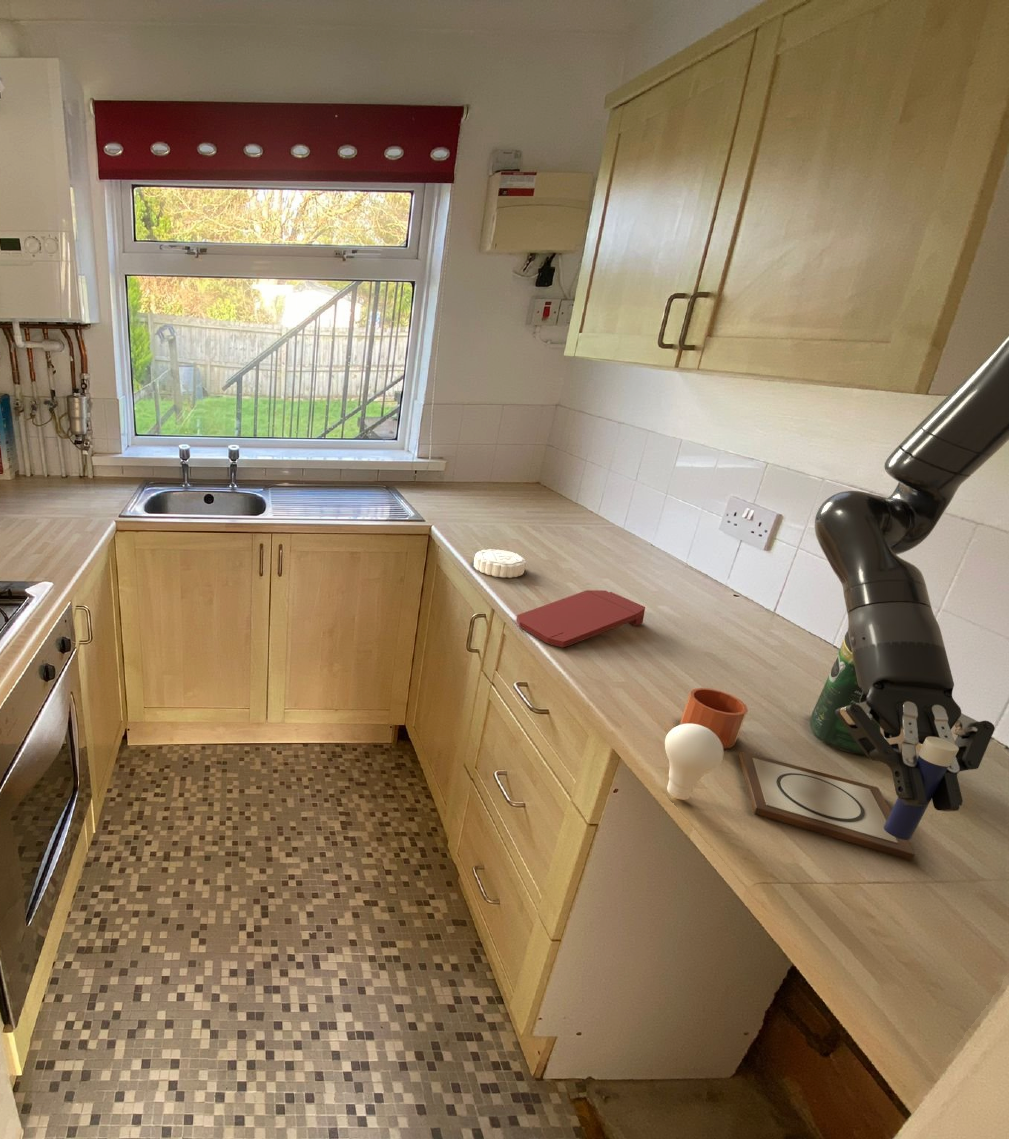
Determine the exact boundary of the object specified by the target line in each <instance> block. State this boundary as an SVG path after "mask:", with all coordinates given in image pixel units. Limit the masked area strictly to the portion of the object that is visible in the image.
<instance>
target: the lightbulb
mask: <svg viewBox="0 0 1009 1139" xmlns="http://www.w3.org/2000/svg"><path fill="white" fill-rule="evenodd" d="M664 749H665V753H666V757H667V759H668V763H669V771H668V778H669V779H668V783H667V787H666V791H667V792H668V794H669V795H670V796H672V797H673V798H674V799H676V800H683V801H685V800H688V799H689V798H690V796H691V795H692V793H693V790H694V789H695V788H697V786H698V785H699V782H700V780H701V779H703V777H705V776H706V775H707V774H708V773H710V772H712V771H714V770H715V769H717V768H718V766H719V765H720V764H721V763H722V761H723V759H724V753H725V752H724V751H725V750H724V749H723V745H722V743H721V741H720V739H719V738H718V737H717V735H716V734H715V733H713V732H712V731H711V730H709V729H708V728H706V727H704V726H701V725H697V724H682V725H680V724H679V725H677V726H675V727H673V728H672V729H670V731H668V733H667V735H666V736H665V739H664Z"/></svg>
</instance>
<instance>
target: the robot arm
mask: <svg viewBox="0 0 1009 1139" xmlns="http://www.w3.org/2000/svg"><path fill="white" fill-rule="evenodd" d="M1007 442H1009V334H1008V335H1007V336H1006V337H1005V339H1004V340H1003V341H1001V343H1000V344H999V345H998V346H997V347H996V348H995V349H994V350H993V351H992V352H991V353H990V355H988V357H986V358H985V360H983V361H982V363H981V364H979V366H978V367H976V368H975V369H974V370H973V371H972V372H971V373H970V374H969V375H968V376H967V377H966V378H965V379H964V380H963V381H962V382H961V383H960V384H958V386H957V387H956V388H954V390H953V391H951V393H949V394H948V395H947V396H946V397H945V398H944V399H943V400H942V401H941V402H940V403H939V404H937V406H936V407H935V408H934V409H933V410H932V411H931V412H930V413H929V414H928V415H926V417H925V418H924V419H923V420H922V421H921V422H920V423H919V424H918V425H917V426H916V427H915V428H914V429H913V430H912V431H911V432H910V433H909V434H908V435H907V436H906V437H905V439H904V440H903V441H901V442H900V444H899V445H897V447H896V448H895V449H894V450H893V451H892V452H891V453H890V454H889V456H888V457H887V459H886V460H885V462H884V465H883V466H884V467H883V468H884V471H885V472H886V473H887V475H888V476H889V477H891V478H892V479H893V480H895V481H896V482H898V483H897V485H896V487H895V489H894V490H893V492H892V493H891V495H890V496H888V497H886V496H882V495H877V494H873V493H870V492H865V491H860V490H859V491H858V490H846V491H845V490H844V491H840V492H837V493H835V494H833V495H831V496H828V498H827V499H825V500H824V501H823V503H822V504H821V505H820V506H819V507H818V510H817V513H816V515H815V518H814V533H815V534H814V535H815V536H816V540H817V542H818V544H819V547H820V549H821V550H822V553H823V554H824V557H825V558H826V560H827V562H828V563H829V566H830V567H831V569H832V571H833V573H834V574H835V575H836V577H837V579H838V580H839V582H840V584H841V586H842V591H843V598H844V603H845V608H846V614H847V620H848V621H847V622H848V623H847V631H848V633H849V639H850V645H851V650H852V655H853V660H854V665H855V671H856V676H857V681H858V686H859V688H860V689H861V690H862V696H861V697H860V701H859V702H860V703H859V704H853V705H849V706H846V707H843V708H839V709H837V710H836V711H835V713H836V716H837V717H838V718H839V720H840V721H841V722H842V724H843V725H844V726H845V728H846V729H847V730H848V732H849V733H850V734H851V736H852V737H853V738H854V740H855V741H856V742H857V744H858V745H859V746H860V748H861V749H862V750H863V752H864V753H865V754H866V755H865V754H864V755H865V756H866V757H867V758H868V759H869V760H871V761H878V762H880V763H883V764H884V765H887V767H888V768H889V769H890V770H891V776H892V780H893V784H894V790H895V794H896V796H897V798H898V797H899V799H902V802H903V804H904V805H907V806H913V807H916V806H925V805H926V803H927V800H926V796H925V791H924V786H923V782H922V777H921V773H920V769H918V768H914V766H916V764H917V758H918V757H917V751H918V752H919V751H920V749H921V747H922V745H923V743H924V741H925V739H926V737H930V736H931V737H938V738H942V739H945V740H947V741H950V742H952V743H953V744H955V745H956V746H957V747H958V748H959V750H958V752H957V754H956V756H955V758H954V760H953V762H952V764H951V765H950V766H948V768H947V770H946V772H945V774H944V776H943V778H942V780H941V782H940V784H939V786H938V787H937V789H936V791H935V793H934V795H933V797H932V799H931V802H932V804H933V808H934V809H935V810H936V811H940V812H958V811H959V810H960V807H961V806H962V805H963V802H964V800H963V796H962V791H961V788H960V784H959V783H960V782H959V780H958V779H959V778H958V774H959V773H960V772H964V771H969V770H970V771H972V770H978V769H979V768H980V765H981V763H982V760H983V758H984V756H985V753H986V751H987V748H988V746H989V744H990V741H991V739H992V737H993V734H994V731H995V729H996V727H995V724H993V723H992V722H991V721H989V720H981V721H979V720H977V719H974V718H972V717H970V716H968V715H966V714H964V713H962V709H961V707H960V706H959V704H958V703H957V702H956V701H955V699H954V698H953V697H954V696H953V691H954V687H955V681H954V679H953V678H954V677H953V674H952V671H951V666H950V662H949V658H948V655H947V654H948V653H947V651H946V647H945V642H944V638H943V634H942V631H941V627H940V625H939V623H938V620H937V618H936V616H935V613H934V611H933V608H932V604H931V600H930V596H929V591H928V587H927V584H926V580H925V578H924V575H923V573H922V571H921V570H920V569H919V568H918V567H917V566H916V565H914V564H913V563H911V562H909V561H907V560H906V559H903V558H901V557H900V556H899V555H902V554H904V553H906V552H909V551H911V550H912V549H914V548H916V547H917V546H919V545H920V544H922V542H924V541H925V540H926V539H927V538H928V537H929V536H930V535H931V533H932V531H933V530H934V529H935V528H936V526H937V524H938V523H939V521H940V519H941V518H942V516H943V515H944V513H945V512H946V511H947V510H946V509H947V508H948V507H949V505H950V503H951V502H952V501H953V498H954V497H955V494H956V493H957V491H958V490H959V488H960V486H961V485H962V484H964V482H965V481H967V480H968V479H969V478H970V477H971V476H972V475H974V473H975V472H977V471H978V470H979V469H980V468H981V467H982V466H984V464H985V463H986V462H987V461H989V460H990V458H992V457H993V456H994V455H995V454H996V453H997V452H998V451H999V450H1000V449H1001V448H1002V447H1003V446H1005V445H1006V443H1007ZM872 719H873V720H874V721H875V722H876V723H877V724H878V725H879V726H880V731H879V730H878V728H877V727H876V726H875V724H874V723H873V722H872V721H871V720H872ZM953 727H955V728H954V730H953V733H952V729H953ZM953 734H954V735H956V736H957V737H956V738H955V739H954V736H953Z"/></svg>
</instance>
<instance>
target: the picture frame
mask: <svg viewBox="0 0 1009 1139" xmlns="http://www.w3.org/2000/svg"><path fill="white" fill-rule="evenodd" d="M738 758H739V762H740V765H741V769H742V774H743V776H744V780H745V783H746V788H747V792H748V795H749V796H748V797H749V800H750V803H751V806H752V811H753V814H754V815H757V816H761V817H764V818H768V819H771V820H775V821H778V822H781V823H784V824H788V825H791V826H795V827H797V828H801V829H804V830H807V831H811V832H814V833H816V834H817V833H818V834H821V835H824V836H827V837H830V838H831V837H832V838H833V839H838V840H840V841H844V842H848V843H852V844H854V845H857V846H861V847H865V848H868V849H870V850H875V851H878V852H881V853H885V854H888V855H891V856H895V857H898V858H901V859H905V860H908V861H913V859H914V857H915V855H916V854H915V852H914V851H913V849H912V847H911V844H910V843H909V840H902V839H899V838H896V837H894V836H892V835H890V834H889V833H887V832H886V831H885V830H884V825H885V823H886V821H887V819H888V817H889V815H890V813H891V811H892V809H891V807H889V805H888V803H887V800H886V799H885V798H884V795H883V794H882V791H881V790H880V788H879V787H878V786H875V785H870V784H866V783H863V782H858V781H854V780H851V779H848V778H844V777H840V776H837V775H832V774H829V773H825V772H822V771H818V770H814V769H811V768H810V769H809V768H806V767H803V766H798V765H796V764H795V765H794V764H791V763H787V762H783V761H780V760H776V759H772V758H768V757H764V756H761V755H757V754H753V753H749V752H747V751H740V752H739V755H738Z"/></svg>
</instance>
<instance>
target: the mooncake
mask: <svg viewBox="0 0 1009 1139" xmlns="http://www.w3.org/2000/svg"><path fill="white" fill-rule="evenodd" d="M526 565H527V562H526V559H525V558H524V557H523V556H521V555H519V554H518V553H516V552H513V551H510V550H502V549H498V548H494V549H492V548H488V549H482V550H479V551H477V552H476V553H475V555H474V560H473V567H474V568H475V570H477V572H480V573H482V574H485V575H487V576H492V577H494V578H495V577H496V578H497V577H498V578H503V579H504V578H508V579H511V578H518V577H520V576H522V575H523V574H524V573H525V569H526Z"/></svg>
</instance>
